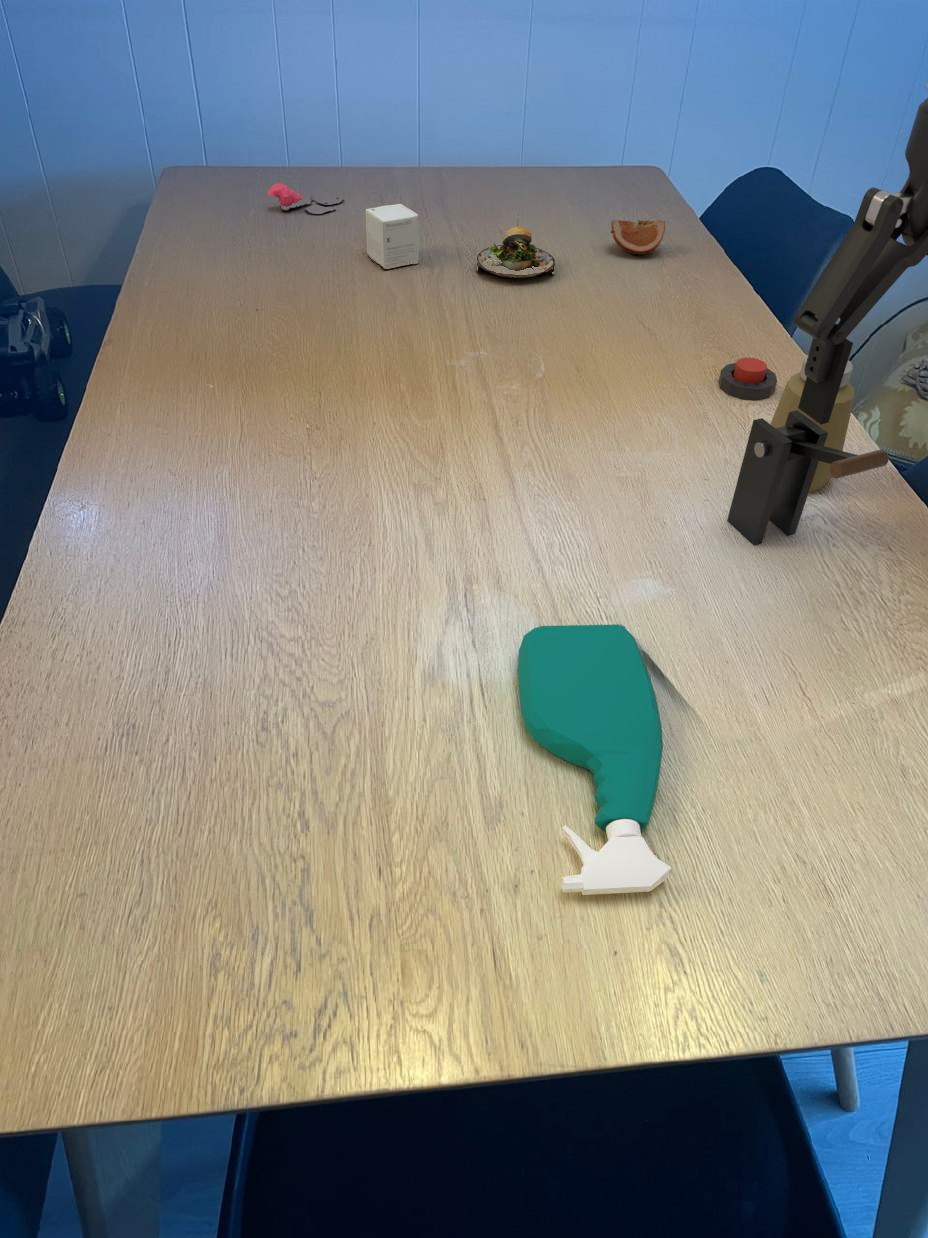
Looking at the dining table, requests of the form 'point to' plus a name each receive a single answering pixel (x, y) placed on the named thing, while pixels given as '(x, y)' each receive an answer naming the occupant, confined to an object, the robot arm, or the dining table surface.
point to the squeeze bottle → (834, 427)
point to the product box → (392, 234)
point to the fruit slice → (638, 235)
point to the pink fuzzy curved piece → (284, 194)
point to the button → (750, 370)
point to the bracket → (773, 479)
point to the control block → (746, 385)
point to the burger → (516, 254)
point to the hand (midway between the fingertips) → (880, 398)
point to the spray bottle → (599, 742)
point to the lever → (832, 455)
